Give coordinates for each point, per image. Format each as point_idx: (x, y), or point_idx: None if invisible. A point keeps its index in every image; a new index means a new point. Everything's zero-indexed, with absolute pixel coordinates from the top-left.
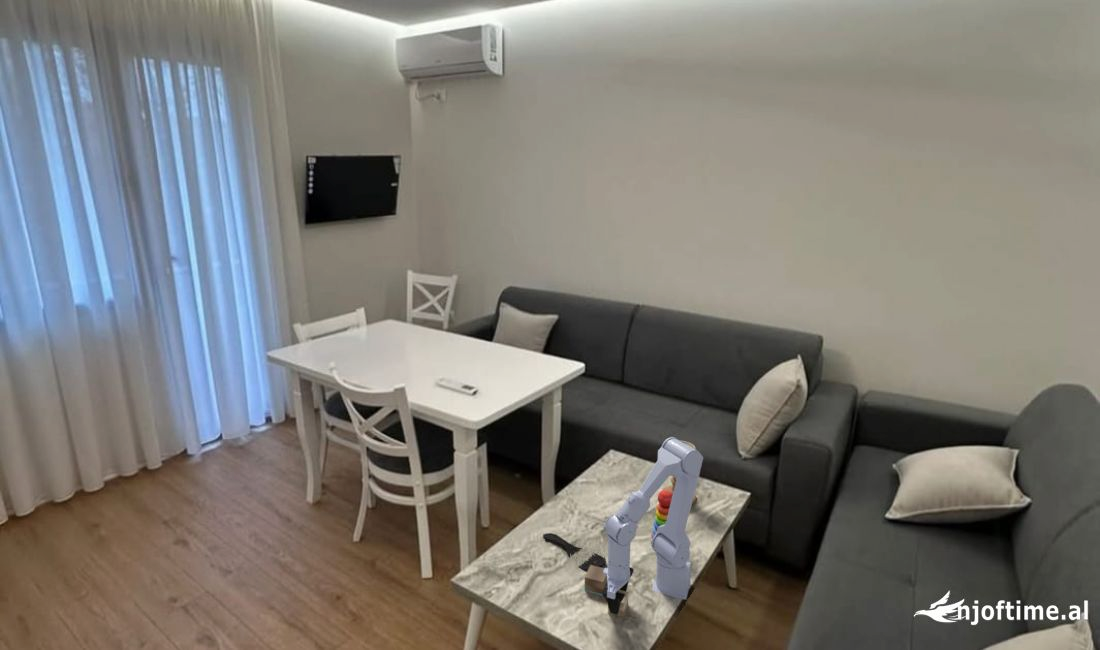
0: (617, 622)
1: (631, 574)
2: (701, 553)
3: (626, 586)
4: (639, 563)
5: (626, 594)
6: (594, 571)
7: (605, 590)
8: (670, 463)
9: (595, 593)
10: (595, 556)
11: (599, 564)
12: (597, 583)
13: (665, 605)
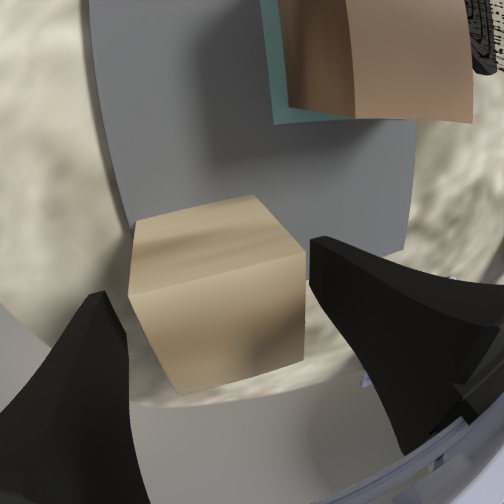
0: (121, 291)
1: (404, 452)
2: None
3: (347, 339)
4: (486, 199)
5: (274, 366)
6: (431, 12)
7: (7, 499)
8: None
9: (270, 53)
10: (485, 21)
11: (471, 43)
12: (331, 56)
13: (327, 367)
